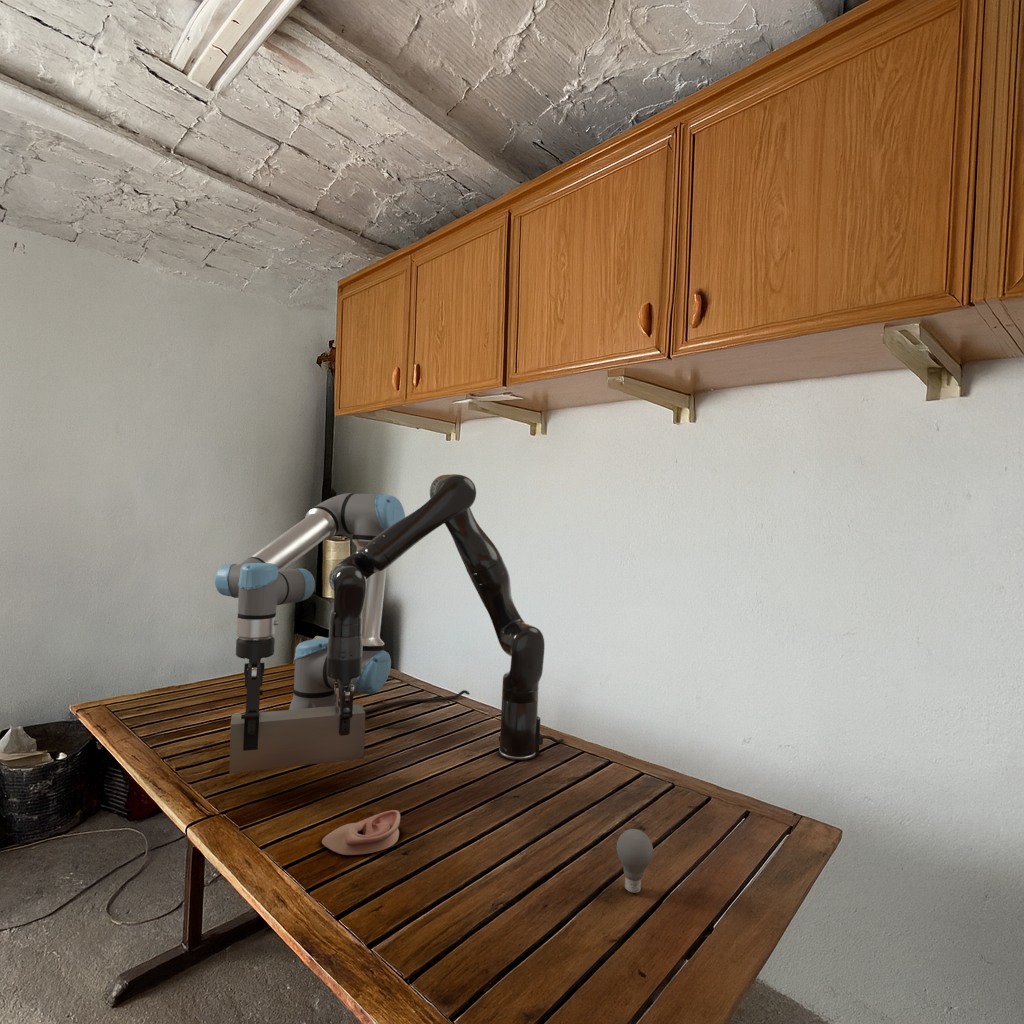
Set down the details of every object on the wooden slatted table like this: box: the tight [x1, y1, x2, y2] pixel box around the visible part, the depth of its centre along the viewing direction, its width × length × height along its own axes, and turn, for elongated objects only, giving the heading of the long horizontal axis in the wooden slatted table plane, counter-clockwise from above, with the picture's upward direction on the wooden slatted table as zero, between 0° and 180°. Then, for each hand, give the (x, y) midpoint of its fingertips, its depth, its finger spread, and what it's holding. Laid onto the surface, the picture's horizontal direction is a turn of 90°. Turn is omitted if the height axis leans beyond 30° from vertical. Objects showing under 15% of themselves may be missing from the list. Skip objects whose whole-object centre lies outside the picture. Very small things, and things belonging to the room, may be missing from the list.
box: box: [228, 703, 366, 775], centre depth 137 cm, size 27×6×10 cm, turn 111°
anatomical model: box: [321, 809, 401, 856], centre depth 118 cm, size 13×4×12 cm
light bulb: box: [615, 828, 654, 894], centre depth 106 cm, size 6×6×10 cm
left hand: (251, 737), depth 133 cm, fingers open, 13 cm apart
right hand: (342, 729), depth 140 cm, fingers closed on box, 6 cm apart
